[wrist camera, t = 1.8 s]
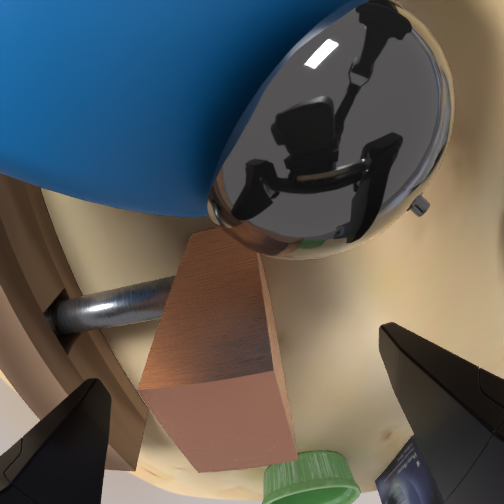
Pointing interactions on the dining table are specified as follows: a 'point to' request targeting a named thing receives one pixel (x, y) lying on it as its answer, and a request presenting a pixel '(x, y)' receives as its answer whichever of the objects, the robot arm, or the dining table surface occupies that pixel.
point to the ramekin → (311, 480)
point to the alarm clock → (229, 112)
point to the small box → (409, 479)
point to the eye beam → (40, 333)
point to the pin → (204, 354)
